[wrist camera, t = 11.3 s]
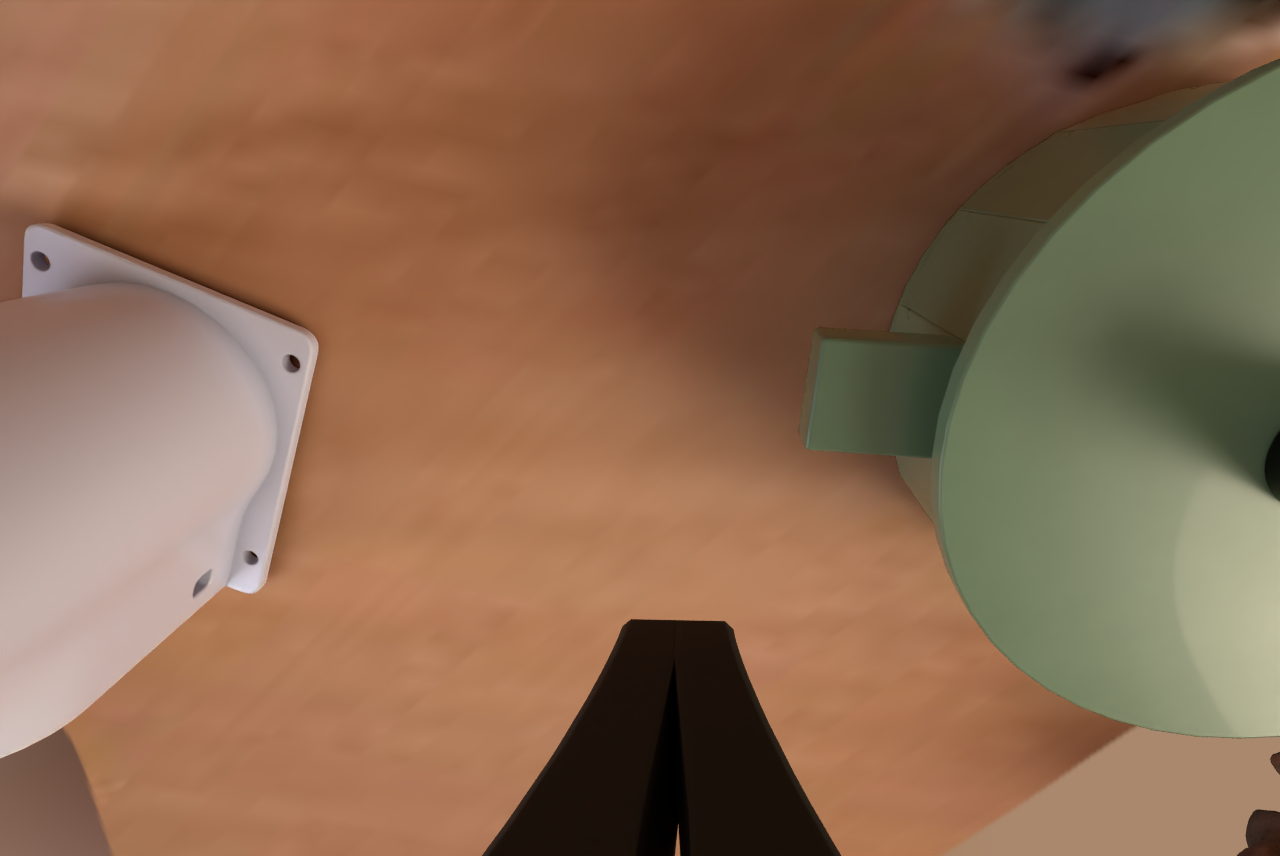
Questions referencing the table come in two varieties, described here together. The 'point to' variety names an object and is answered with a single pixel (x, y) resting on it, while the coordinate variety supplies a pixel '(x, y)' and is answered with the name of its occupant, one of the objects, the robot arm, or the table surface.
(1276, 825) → the pottery mug
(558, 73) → the table surface
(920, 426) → the pot
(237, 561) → the robot arm
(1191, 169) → the lid
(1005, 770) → the table surface
